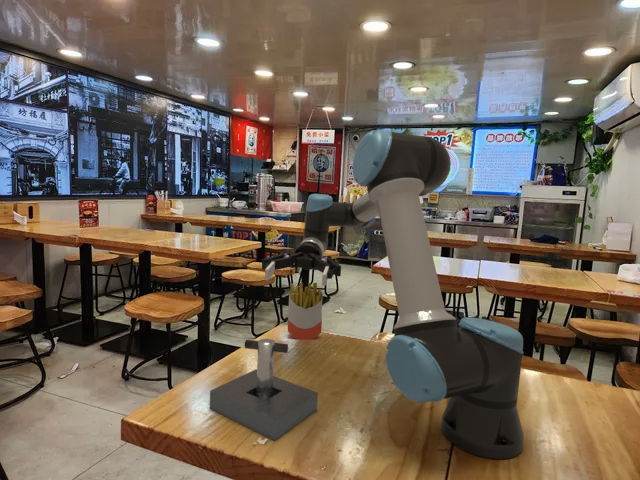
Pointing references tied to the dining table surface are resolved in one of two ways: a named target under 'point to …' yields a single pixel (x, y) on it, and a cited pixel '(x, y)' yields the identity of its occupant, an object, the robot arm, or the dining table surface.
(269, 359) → the chuck key
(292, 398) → the block
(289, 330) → the french fries container
